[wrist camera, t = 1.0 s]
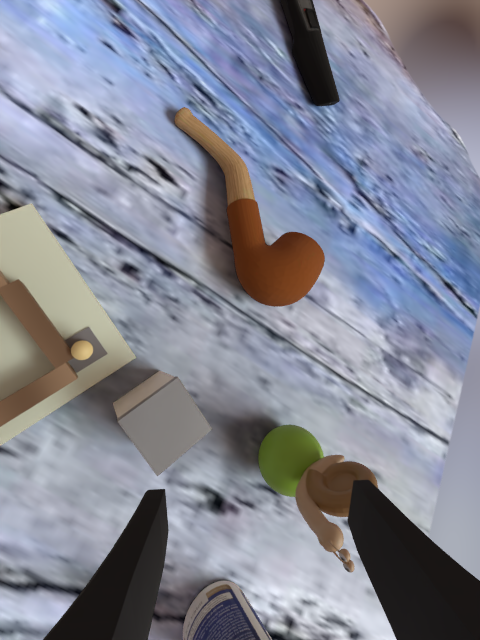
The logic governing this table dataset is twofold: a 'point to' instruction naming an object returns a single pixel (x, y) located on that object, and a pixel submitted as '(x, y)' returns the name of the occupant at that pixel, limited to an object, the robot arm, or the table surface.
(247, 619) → the pill bottle
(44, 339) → the socket collar
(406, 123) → the table surface
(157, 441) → the plug block
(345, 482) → the snail figurine
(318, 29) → the electric trimmer
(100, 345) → the board
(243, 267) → the smoking pipe
